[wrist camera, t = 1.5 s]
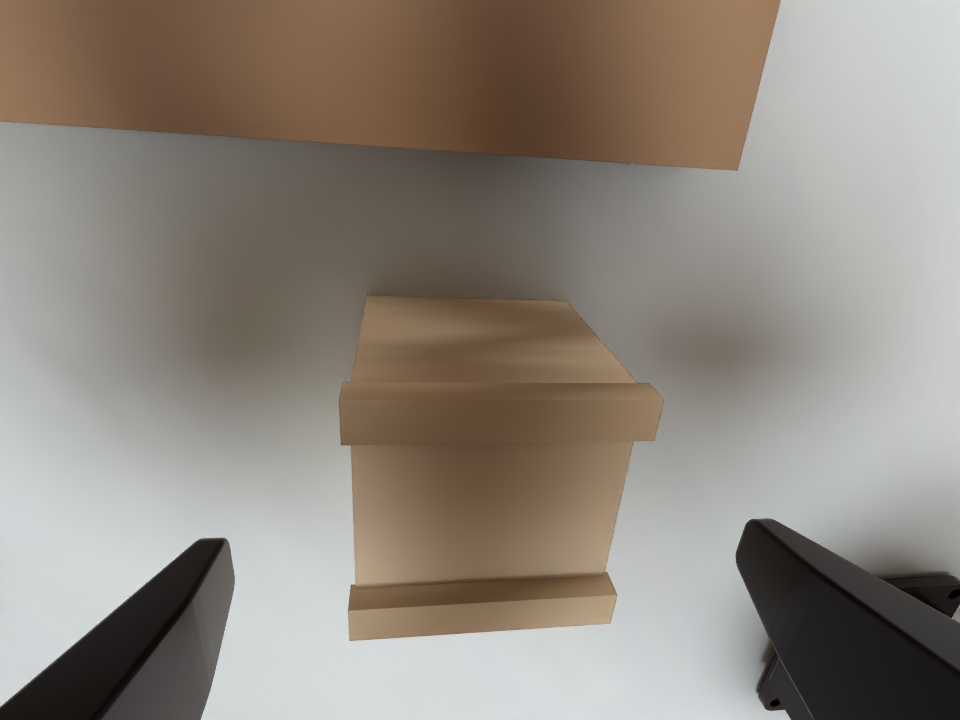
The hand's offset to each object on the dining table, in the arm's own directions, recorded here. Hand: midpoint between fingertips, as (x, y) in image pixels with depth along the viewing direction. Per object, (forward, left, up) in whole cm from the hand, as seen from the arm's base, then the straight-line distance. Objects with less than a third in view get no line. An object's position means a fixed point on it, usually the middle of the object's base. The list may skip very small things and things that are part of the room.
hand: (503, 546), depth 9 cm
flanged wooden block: (0, 0, -6) cm, 6 cm away
